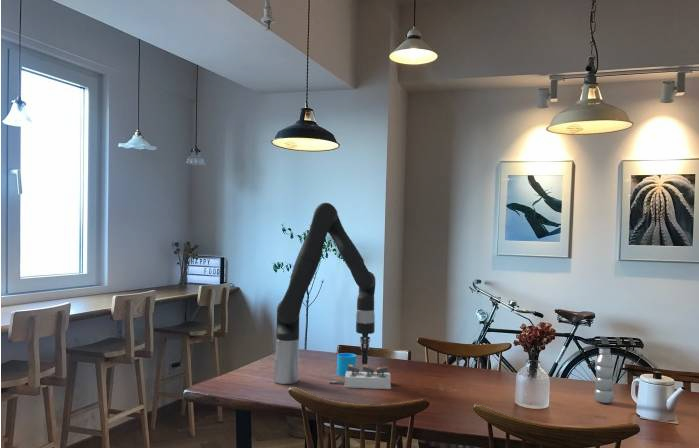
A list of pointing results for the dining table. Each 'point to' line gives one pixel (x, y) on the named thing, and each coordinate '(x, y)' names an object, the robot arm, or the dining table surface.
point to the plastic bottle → (604, 376)
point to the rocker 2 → (368, 369)
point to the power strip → (366, 380)
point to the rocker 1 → (353, 368)
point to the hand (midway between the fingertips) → (364, 363)
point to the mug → (345, 362)
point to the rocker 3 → (382, 369)
